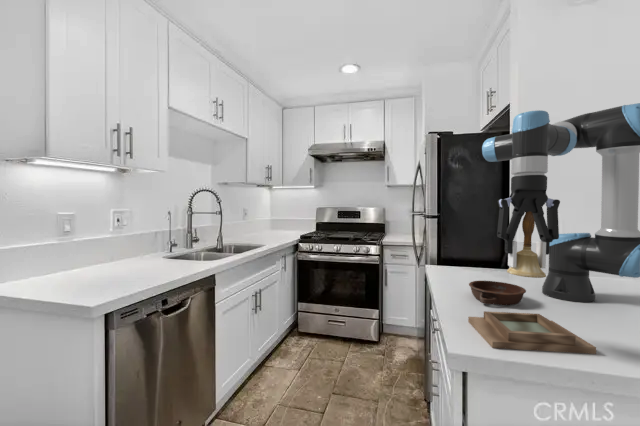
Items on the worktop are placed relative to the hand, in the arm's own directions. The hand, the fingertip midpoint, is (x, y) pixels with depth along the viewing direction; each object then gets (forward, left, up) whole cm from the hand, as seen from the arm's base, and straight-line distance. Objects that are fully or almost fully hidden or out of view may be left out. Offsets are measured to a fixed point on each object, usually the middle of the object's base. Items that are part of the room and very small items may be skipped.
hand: (526, 266), depth 78 cm
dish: (-6, -31, -18) cm, 37 cm away
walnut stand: (0, 0, -18) cm, 18 cm away
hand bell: (0, 0, -2) cm, 2 cm away
